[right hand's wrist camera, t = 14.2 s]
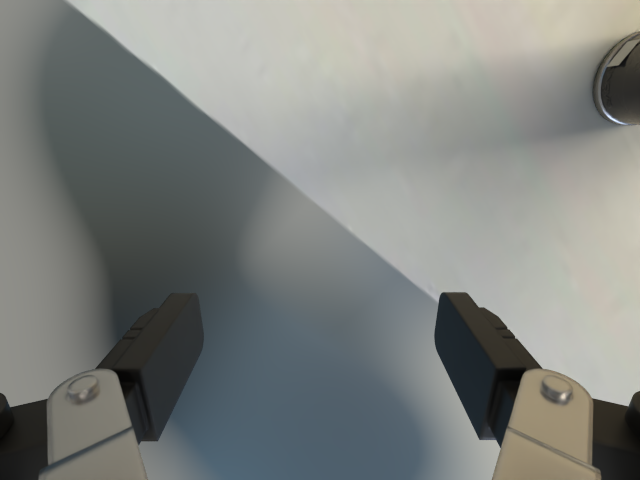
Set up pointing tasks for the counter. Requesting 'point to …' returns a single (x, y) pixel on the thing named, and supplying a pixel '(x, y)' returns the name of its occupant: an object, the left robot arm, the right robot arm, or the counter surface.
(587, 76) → the counter surface
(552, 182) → the counter surface
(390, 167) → the counter surface
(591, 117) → the counter surface
